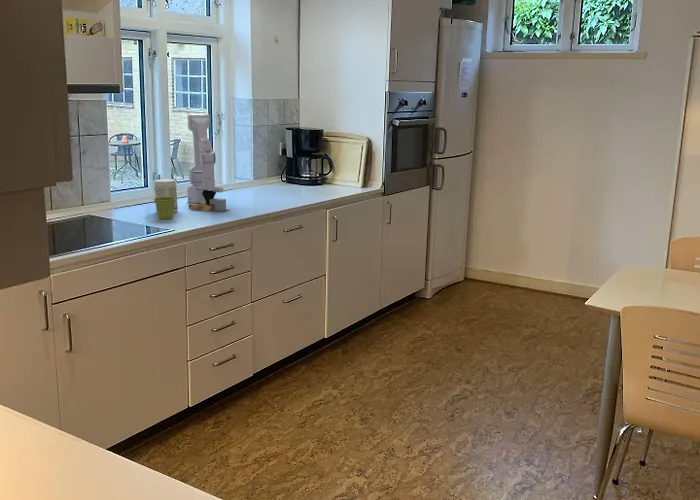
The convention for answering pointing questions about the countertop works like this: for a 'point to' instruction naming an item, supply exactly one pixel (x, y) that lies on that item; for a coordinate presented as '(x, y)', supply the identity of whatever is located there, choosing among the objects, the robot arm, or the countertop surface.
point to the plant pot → (165, 207)
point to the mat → (223, 210)
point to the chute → (201, 206)
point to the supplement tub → (166, 190)
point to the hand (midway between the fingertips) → (209, 206)
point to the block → (218, 204)
